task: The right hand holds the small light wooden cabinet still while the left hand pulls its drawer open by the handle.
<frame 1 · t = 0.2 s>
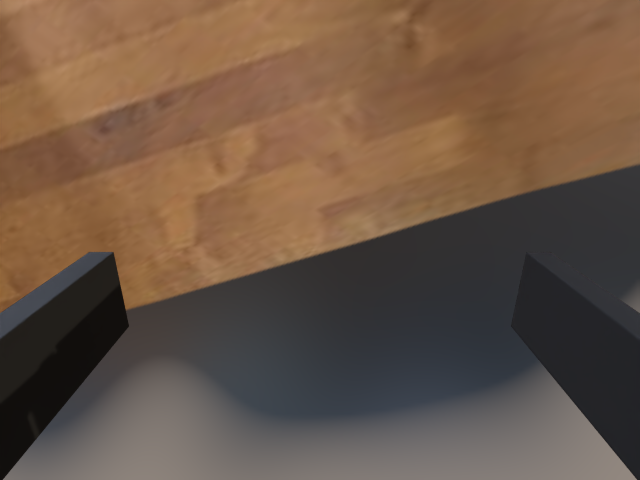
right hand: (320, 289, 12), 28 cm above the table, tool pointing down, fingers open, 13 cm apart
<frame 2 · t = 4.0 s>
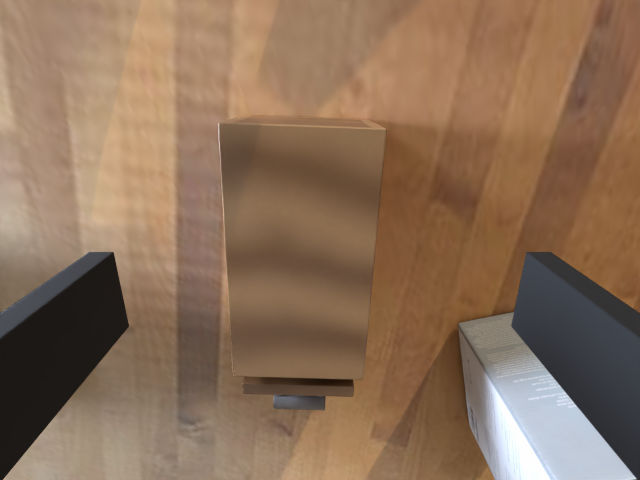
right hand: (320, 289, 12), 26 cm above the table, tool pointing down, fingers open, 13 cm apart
drawer: (301, 305, 36), point 5 cm above the table, slide at 1.6 cm
cabinet: (304, 225, 39), on the table
hard drive box: (493, 368, 45), on the table
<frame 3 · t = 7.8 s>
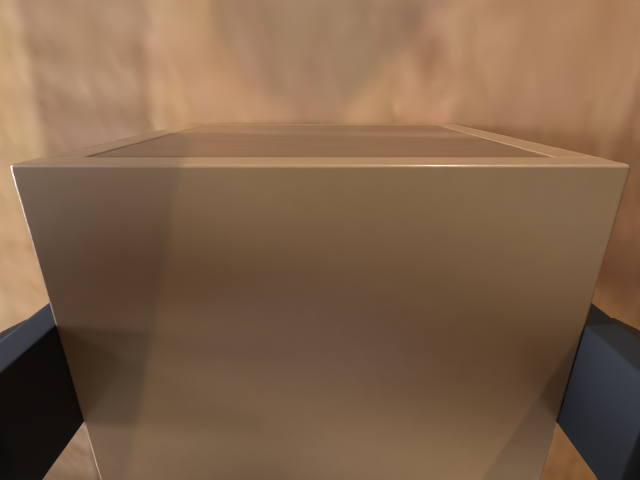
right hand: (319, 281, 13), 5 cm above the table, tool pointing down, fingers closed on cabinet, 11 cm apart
cabinet: (320, 333, 20), on the table, touching right hand
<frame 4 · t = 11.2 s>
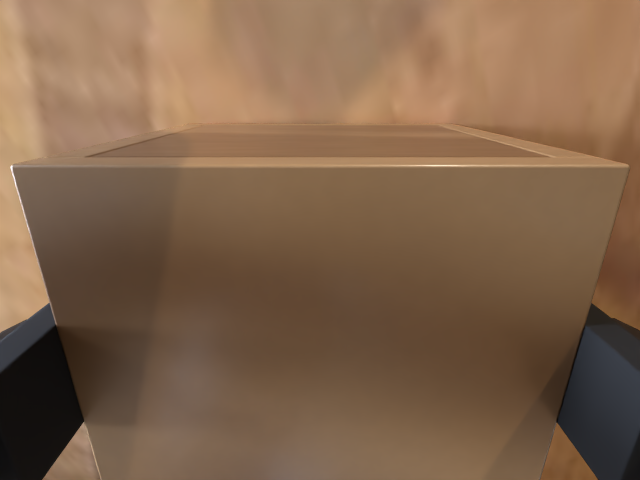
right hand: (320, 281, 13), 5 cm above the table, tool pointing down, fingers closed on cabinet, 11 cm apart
cabinet: (320, 333, 20), on the table, touching right hand
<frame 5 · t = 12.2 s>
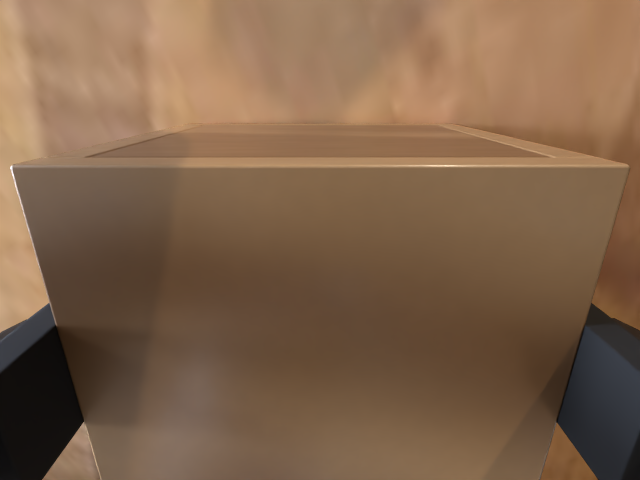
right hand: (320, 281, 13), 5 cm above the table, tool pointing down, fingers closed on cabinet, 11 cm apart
cabinet: (320, 332, 20), on the table, touching right hand
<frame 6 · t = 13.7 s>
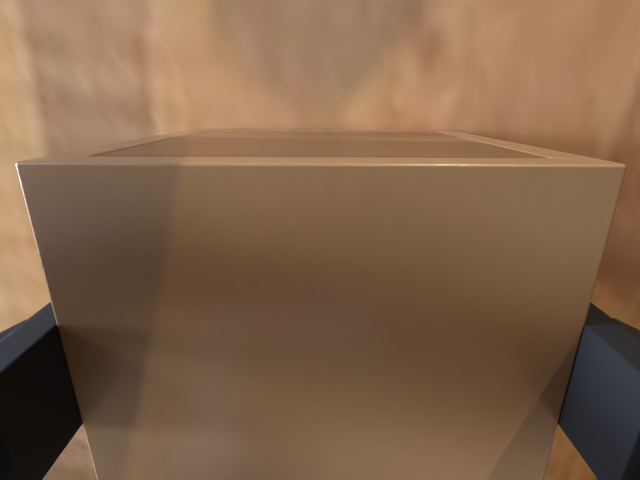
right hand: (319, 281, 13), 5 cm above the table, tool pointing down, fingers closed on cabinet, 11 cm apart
cabinet: (319, 339, 20), on the table, touching right hand
when the right hand's fingers open (5 cm above the table, at t = 14.8 s): cabinet stays where it is, on the table.
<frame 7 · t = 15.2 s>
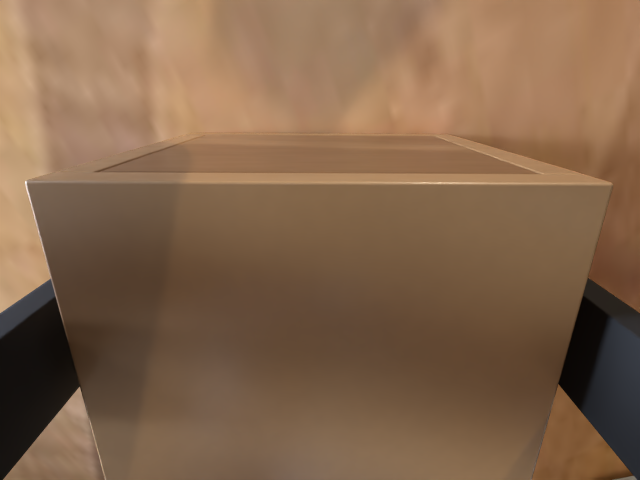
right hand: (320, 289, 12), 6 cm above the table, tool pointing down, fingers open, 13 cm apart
cabinet: (318, 337, 20), on the table
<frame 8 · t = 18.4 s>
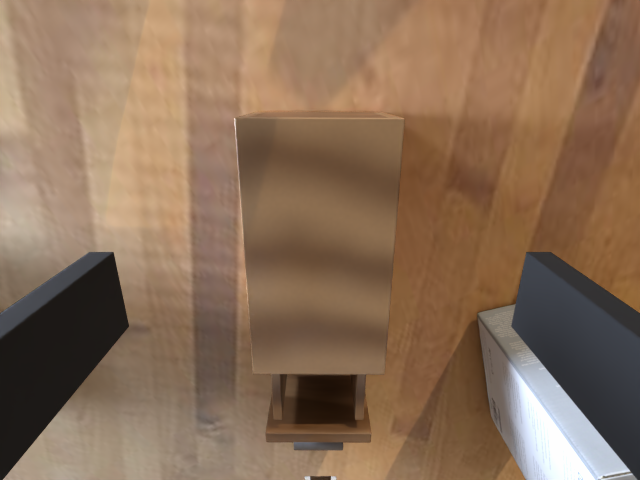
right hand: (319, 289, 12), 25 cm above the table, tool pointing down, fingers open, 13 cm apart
drawer: (318, 355, 38), point 5 cm above the table, slide at 7.7 cm
cabinet: (319, 221, 38), on the table
hard drive box: (514, 358, 44), on the table
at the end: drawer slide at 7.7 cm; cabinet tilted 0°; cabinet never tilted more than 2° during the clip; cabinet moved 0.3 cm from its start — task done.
